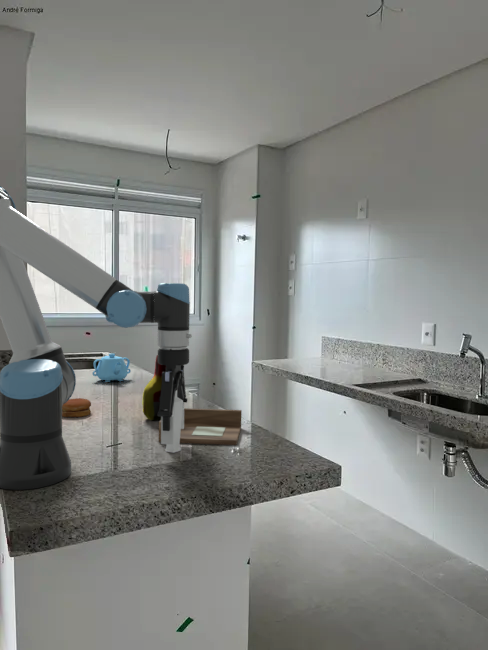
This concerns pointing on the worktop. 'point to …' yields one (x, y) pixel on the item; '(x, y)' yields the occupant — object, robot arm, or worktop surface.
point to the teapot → (111, 368)
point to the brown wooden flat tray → (210, 426)
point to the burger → (76, 408)
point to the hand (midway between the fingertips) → (173, 435)
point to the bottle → (153, 393)
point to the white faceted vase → (176, 425)
